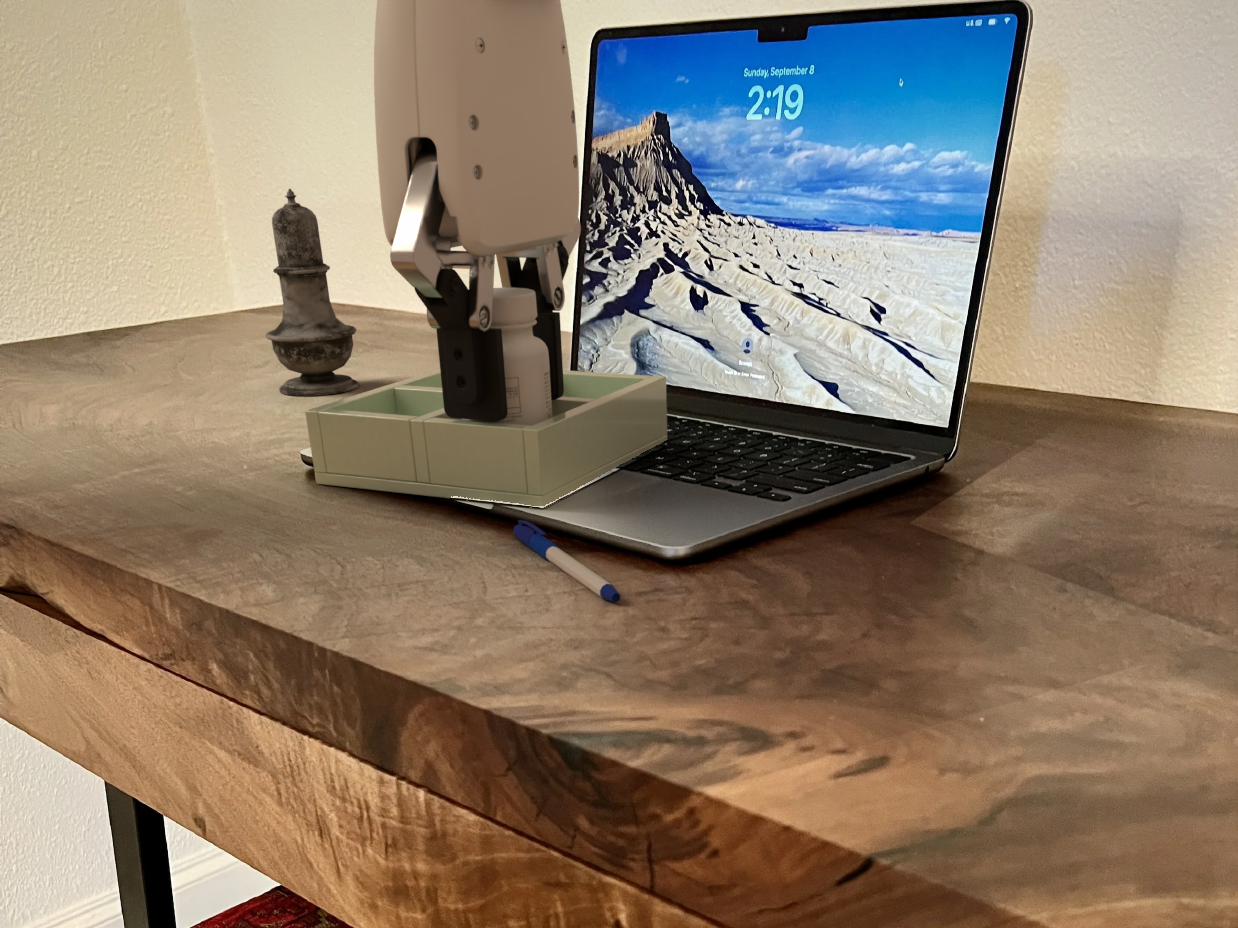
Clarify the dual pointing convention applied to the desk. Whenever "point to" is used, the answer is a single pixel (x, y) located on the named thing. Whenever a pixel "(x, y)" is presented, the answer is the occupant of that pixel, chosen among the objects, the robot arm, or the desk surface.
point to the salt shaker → (307, 308)
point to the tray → (485, 440)
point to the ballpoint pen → (564, 560)
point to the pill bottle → (522, 357)
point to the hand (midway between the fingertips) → (505, 403)
